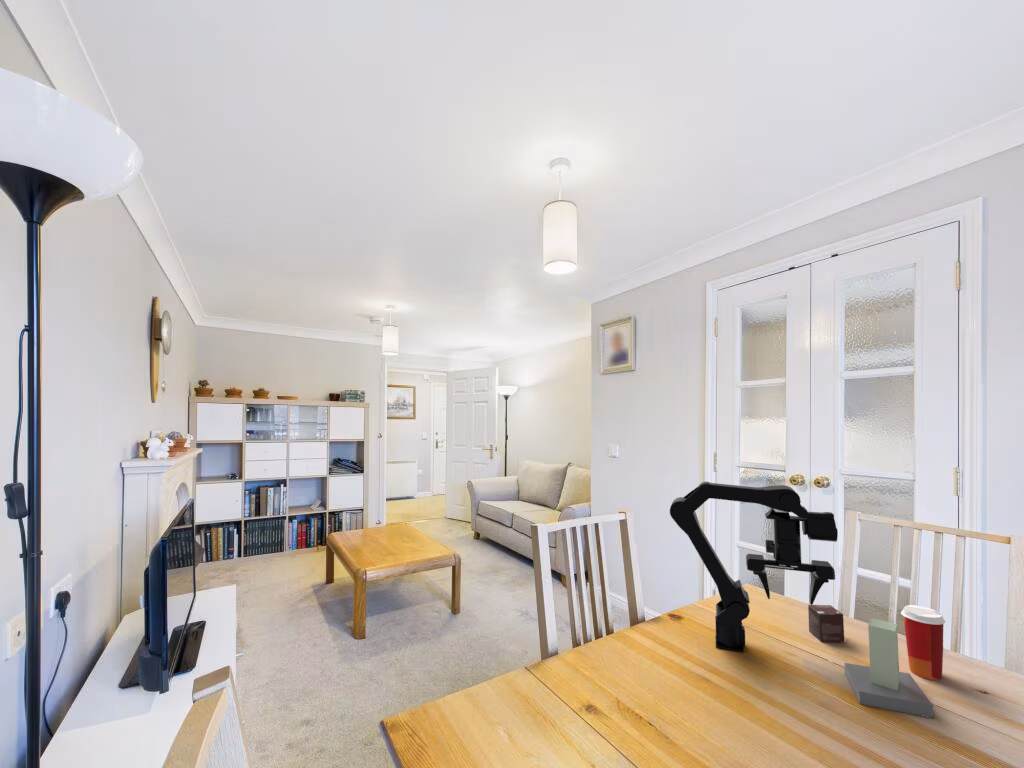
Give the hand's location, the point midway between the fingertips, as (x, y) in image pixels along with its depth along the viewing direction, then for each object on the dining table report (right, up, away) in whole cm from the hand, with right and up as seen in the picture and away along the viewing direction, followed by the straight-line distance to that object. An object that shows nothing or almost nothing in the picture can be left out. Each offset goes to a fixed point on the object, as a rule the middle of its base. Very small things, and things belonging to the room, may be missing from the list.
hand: (789, 601), depth 119 cm
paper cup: (+26, -13, -9) cm, 30 cm away
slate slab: (+11, -12, -17) cm, 23 cm away
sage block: (+11, -10, -17) cm, 22 cm away
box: (+15, -14, +8) cm, 22 cm away
